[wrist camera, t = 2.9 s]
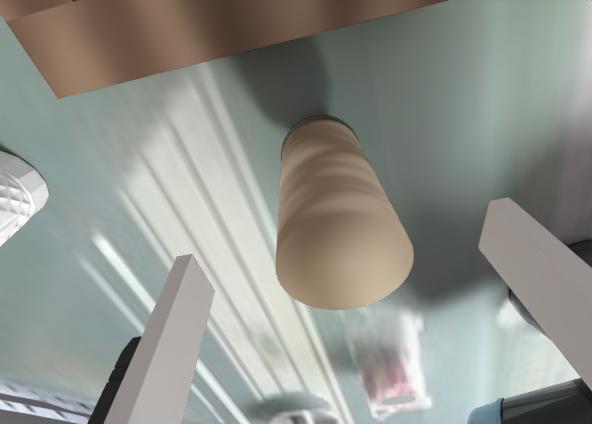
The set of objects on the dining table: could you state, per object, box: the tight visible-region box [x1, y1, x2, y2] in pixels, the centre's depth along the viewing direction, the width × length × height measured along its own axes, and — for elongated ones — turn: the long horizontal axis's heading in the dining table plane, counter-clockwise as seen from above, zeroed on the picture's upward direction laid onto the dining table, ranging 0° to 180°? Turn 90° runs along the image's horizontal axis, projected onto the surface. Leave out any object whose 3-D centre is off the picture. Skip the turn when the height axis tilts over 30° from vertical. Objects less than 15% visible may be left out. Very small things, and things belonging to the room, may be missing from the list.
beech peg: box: [276, 115, 414, 310], centre depth 19 cm, size 6×6×16 cm
